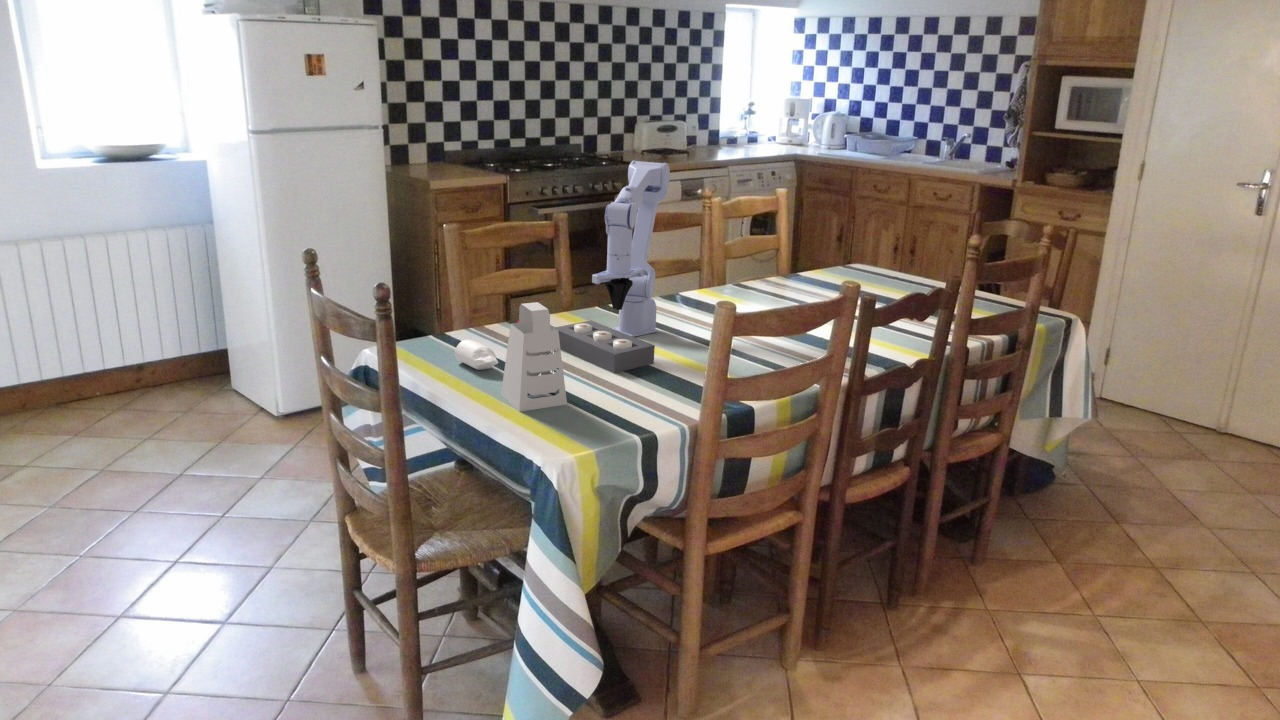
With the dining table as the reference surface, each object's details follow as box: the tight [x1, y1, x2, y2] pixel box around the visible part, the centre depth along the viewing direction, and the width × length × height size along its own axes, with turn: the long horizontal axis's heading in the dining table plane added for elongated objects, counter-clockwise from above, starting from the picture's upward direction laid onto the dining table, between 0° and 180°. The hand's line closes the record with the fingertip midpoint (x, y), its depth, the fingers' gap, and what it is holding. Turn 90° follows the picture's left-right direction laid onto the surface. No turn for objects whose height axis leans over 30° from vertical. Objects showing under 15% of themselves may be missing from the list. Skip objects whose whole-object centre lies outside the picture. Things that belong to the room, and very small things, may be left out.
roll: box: [454, 339, 499, 371], centre depth 211 cm, size 6×12×6 cm, turn 41°
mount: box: [554, 319, 656, 374], centre depth 224 cm, size 12×24×4 cm, turn 41°
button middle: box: [593, 331, 612, 341], centre depth 224 cm, size 4×4×3 cm
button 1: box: [574, 323, 592, 333], centre depth 229 cm, size 4×4×3 cm
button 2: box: [613, 339, 632, 350], centre depth 218 cm, size 4×4×3 cm
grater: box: [500, 301, 568, 412], centre depth 192 cm, size 10×10×20 cm
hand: (617, 308), depth 227 cm, fingers closed
